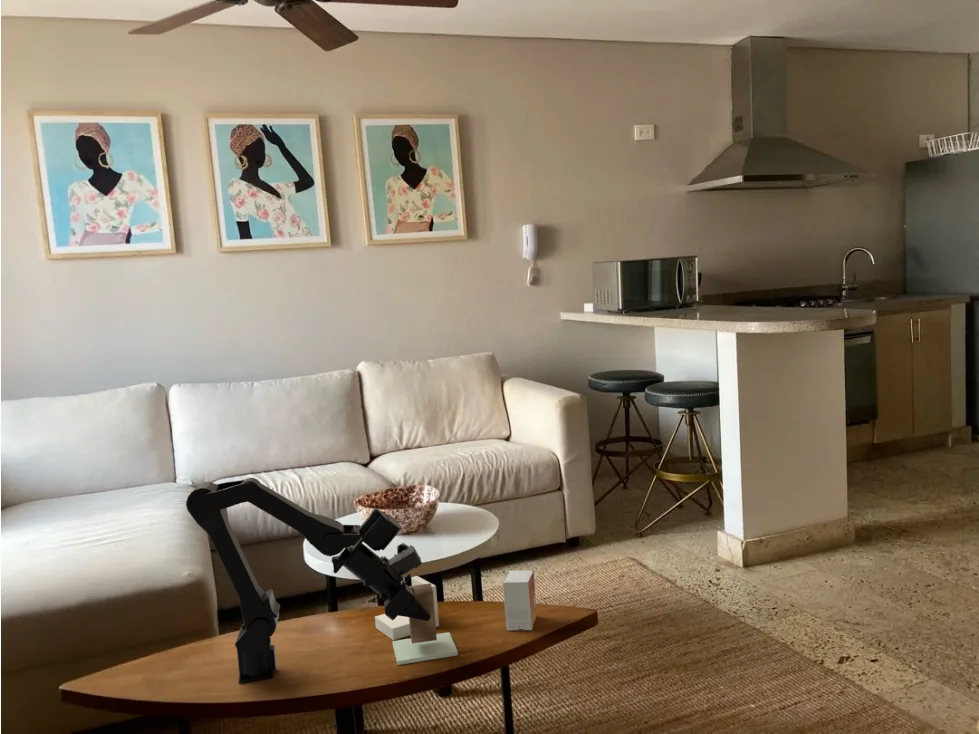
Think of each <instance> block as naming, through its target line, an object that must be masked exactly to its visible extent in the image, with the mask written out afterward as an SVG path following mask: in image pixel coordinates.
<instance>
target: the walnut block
mask: <svg viewBox="0 0 979 734" xmlns="http://www.w3.org/2000/svg"><path fill="white" fill-rule="evenodd" d="M429 583H430V584H422V585H414V586H409V587H410V588H411V589H412V588H414V595H415V599H416V600H417V601H418V602H419V604H420V605H421V606H422V607H423V608H424V609H425V610H426V611H427V613H428V614H429V615H430V616H431V618H430V619H429V620H428V621H424V620H419V619H415V618H410V617H409V624H410V635H409V636H410V638H411V641H412V643H420V642H427V641H435V640H437V636H436V634H437V627H436V623H435V610H434V597H433V589H432V586H431V584H432V583H431V582H429Z"/></svg>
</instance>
